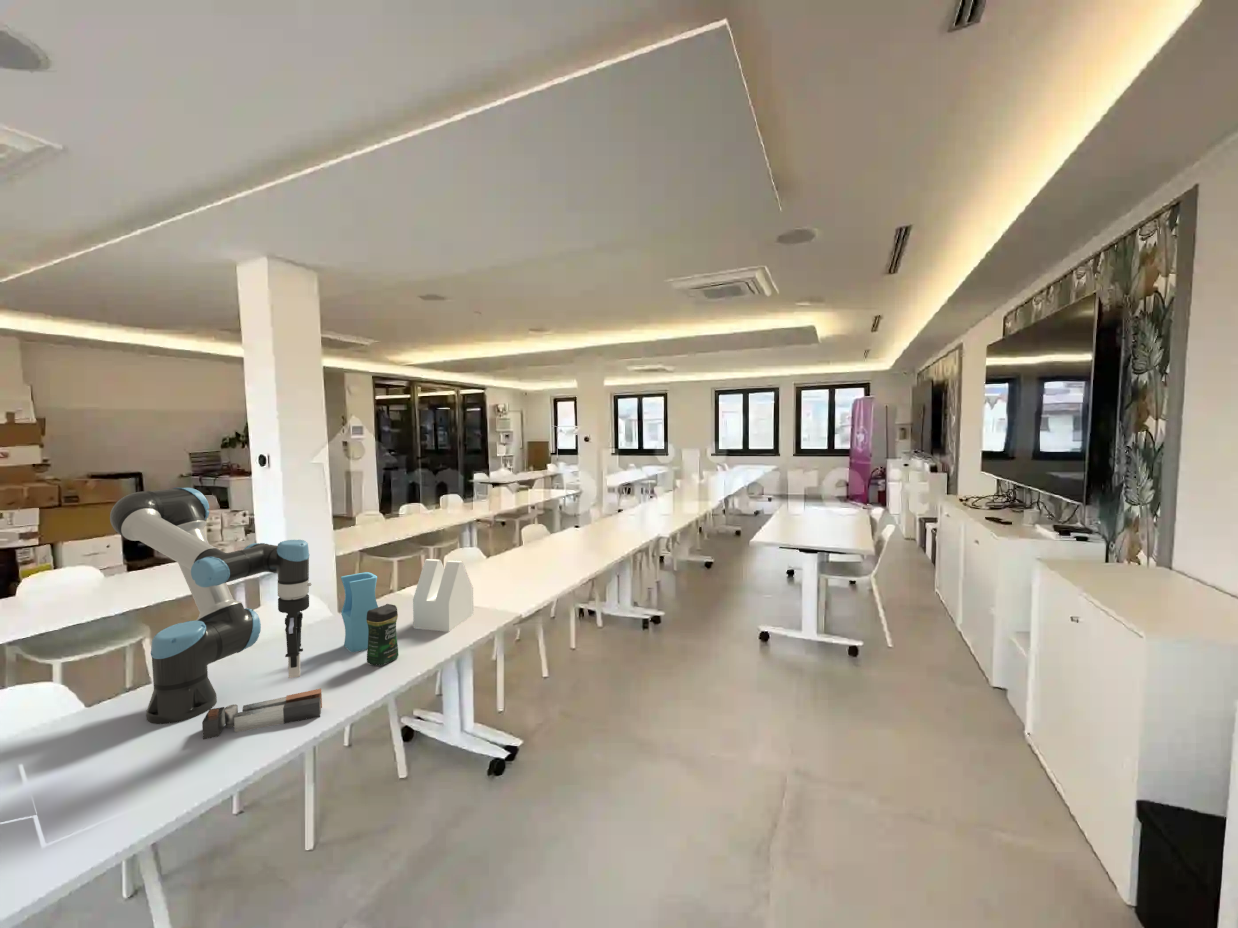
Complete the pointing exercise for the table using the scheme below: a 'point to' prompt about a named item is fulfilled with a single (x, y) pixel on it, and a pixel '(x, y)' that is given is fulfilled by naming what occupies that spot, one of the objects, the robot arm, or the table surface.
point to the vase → (358, 608)
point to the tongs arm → (269, 704)
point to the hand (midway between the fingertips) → (294, 676)
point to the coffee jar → (382, 635)
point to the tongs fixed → (261, 716)
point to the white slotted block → (442, 596)
